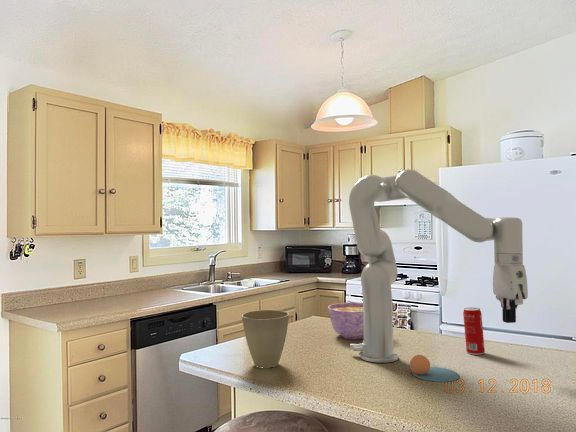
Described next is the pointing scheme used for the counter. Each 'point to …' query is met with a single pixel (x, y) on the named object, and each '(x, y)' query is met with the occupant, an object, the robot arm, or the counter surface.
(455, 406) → the counter surface
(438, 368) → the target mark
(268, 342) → the plant pot
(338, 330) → the bowl of food
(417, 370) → the ball
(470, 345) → the beverage can
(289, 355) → the counter surface
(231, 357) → the counter surface
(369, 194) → the robot arm
